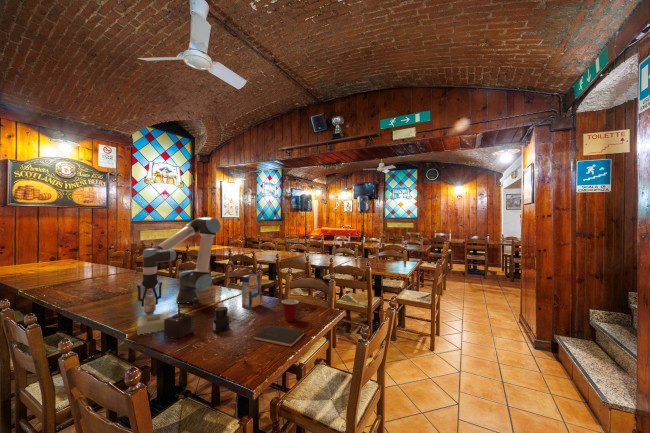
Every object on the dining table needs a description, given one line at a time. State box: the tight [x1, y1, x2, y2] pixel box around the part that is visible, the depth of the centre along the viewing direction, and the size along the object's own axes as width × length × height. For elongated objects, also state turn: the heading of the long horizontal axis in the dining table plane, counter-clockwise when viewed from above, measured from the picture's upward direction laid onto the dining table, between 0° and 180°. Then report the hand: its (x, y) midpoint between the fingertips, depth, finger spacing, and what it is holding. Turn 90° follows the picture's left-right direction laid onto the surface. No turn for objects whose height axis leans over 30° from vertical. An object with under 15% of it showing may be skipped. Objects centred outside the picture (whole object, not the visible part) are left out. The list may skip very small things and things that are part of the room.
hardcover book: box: [252, 324, 306, 347], centre depth 148 cm, size 16×23×2 cm
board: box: [136, 312, 170, 336], centre depth 159 cm, size 15×16×5 cm
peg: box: [144, 294, 155, 316], centre depth 171 cm, size 5×5×15 cm
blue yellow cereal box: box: [241, 273, 261, 310], centre depth 199 cm, size 7×11×22 cm, turn 152°
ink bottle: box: [212, 306, 231, 333], centre depth 157 cm, size 10×9×12 cm
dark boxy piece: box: [163, 297, 201, 339], centre depth 153 cm, size 16×11×18 cm
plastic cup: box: [281, 298, 300, 322], centre depth 173 cm, size 11×11×12 cm
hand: (149, 310), depth 171 cm, fingers closed on peg, 5 cm apart
